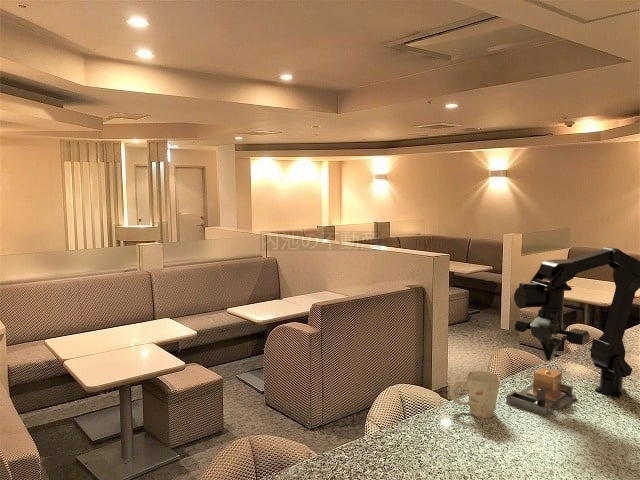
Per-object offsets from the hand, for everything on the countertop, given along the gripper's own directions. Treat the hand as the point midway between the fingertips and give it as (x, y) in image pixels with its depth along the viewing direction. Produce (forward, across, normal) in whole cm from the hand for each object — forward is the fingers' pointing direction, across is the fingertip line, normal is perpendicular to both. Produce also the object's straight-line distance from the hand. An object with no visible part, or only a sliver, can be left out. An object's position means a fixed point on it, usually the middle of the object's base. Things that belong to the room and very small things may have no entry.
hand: (548, 360), depth 141 cm
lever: (+10, +2, -9) cm, 14 cm away
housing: (+10, 0, 0) cm, 10 cm away
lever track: (+11, -1, -10) cm, 15 cm away
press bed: (+11, 0, 0) cm, 11 cm away
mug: (+11, -9, -24) cm, 28 cm away
